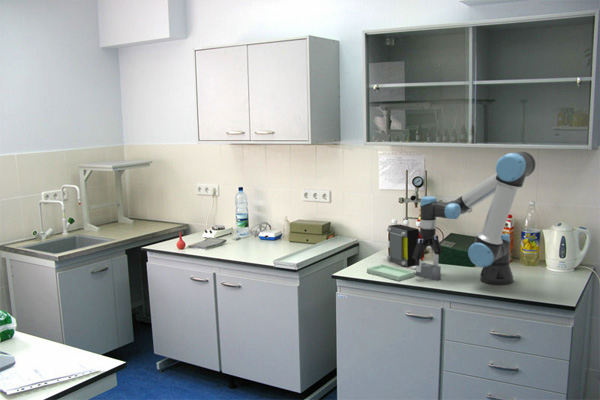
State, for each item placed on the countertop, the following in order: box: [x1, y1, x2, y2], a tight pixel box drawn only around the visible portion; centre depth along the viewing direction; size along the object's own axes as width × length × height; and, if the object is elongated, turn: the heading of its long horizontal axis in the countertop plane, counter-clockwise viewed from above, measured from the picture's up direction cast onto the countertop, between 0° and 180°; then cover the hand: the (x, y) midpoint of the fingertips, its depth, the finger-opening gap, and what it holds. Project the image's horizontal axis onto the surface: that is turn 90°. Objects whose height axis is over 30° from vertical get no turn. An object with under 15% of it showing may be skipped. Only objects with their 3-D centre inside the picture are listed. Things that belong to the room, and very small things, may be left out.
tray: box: [366, 263, 416, 282], centre depth 288 cm, size 22×12×2 cm, turn 39°
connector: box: [409, 261, 442, 281], centre depth 283 cm, size 17×5×6 cm, turn 39°
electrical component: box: [386, 223, 420, 268], centre depth 309 cm, size 18×10×20 cm, turn 25°
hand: (427, 269), depth 282 cm, fingers open, 13 cm apart
